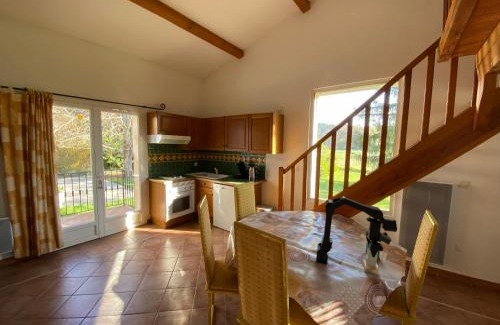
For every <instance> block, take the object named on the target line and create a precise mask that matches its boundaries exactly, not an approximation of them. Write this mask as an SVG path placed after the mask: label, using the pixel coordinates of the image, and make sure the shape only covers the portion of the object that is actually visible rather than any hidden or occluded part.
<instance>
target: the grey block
mask: <svg viewBox="0 0 500 325" xmlns="http://www.w3.org/2000/svg"><path fill="white" fill-rule="evenodd" d="M364 260H365V261H366V265H368V266H372V267H376V263H377V261H375V260H370V259H368V257H367V254H365V259H364Z"/></svg>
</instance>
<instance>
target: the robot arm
mask: <svg viewBox="0 0 500 325" xmlns="http://www.w3.org/2000/svg"><path fill="white" fill-rule="evenodd" d="M344 205H345V206H347V207H349V208H352V209H355V210H358V211H360V212H362V213H365V214H366V215H368V217H367V218H365V219H366V221H367V222H369V227H368V229H367V230H366V231H365V232H364V235H365V239H366V243H368V246H369V249H370V251H371V254H372V257H375V256H376V254H377V252H378V251H380V252H383V251H384V247H383V245H382V244H381V243H384V244H386V245H388V246H389V245H390V244H391V242H392V241H393V240H392V238H391V237H390V236H389V235H388V232H393V233H397V231H398V223H397V220H396V219H393V218H392V219H388V218H385V217H384V212H383V211H382V210H381V209H380V208H379V207H378V206H374V205H368V204H364V203H361V202H359V201H356V200H353V199H351V198H348V197H346V196H341V197H337V198H333V199H327V200H325V202H324V208H325V209H324V210H325V220H324V229H323V235H322V239H321V241H320V242H319V243H318V244H317V246H316V247H317V249H316V256H315V257H316V258H315V262H316V263H319V264H324V265H327V264H328V262H329V252H331V250H333V242H334V241H333V237H332V238H331V232H332V223H333V222H332V221H333V216H334V214H335V211H336V209H339V208H341V207H342V206H344ZM381 229H383V231H384V232H381Z"/></svg>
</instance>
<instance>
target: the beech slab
mask: <svg viewBox="0 0 500 325" xmlns="http://www.w3.org/2000/svg"><path fill="white" fill-rule="evenodd" d="M365 260H366V259H362V267H364V268H363V271H364V270H365V271H366V272H365V271H364V272H365V273H368V272H371V273H370V274H373V273H376V274H375V275H379V271H380V269H379V266H378V263H377V262H376V267H372V266H368V265H366V261H365Z"/></svg>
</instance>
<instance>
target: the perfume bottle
mask: <svg viewBox="0 0 500 325" xmlns="http://www.w3.org/2000/svg"><path fill="white" fill-rule="evenodd" d="M368 248H369V246H368V243H367V242H366V244H365V253H366V254H367V250H368ZM380 252H381V251H378V252H377V253H378V255H377V259H379V258H380Z"/></svg>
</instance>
